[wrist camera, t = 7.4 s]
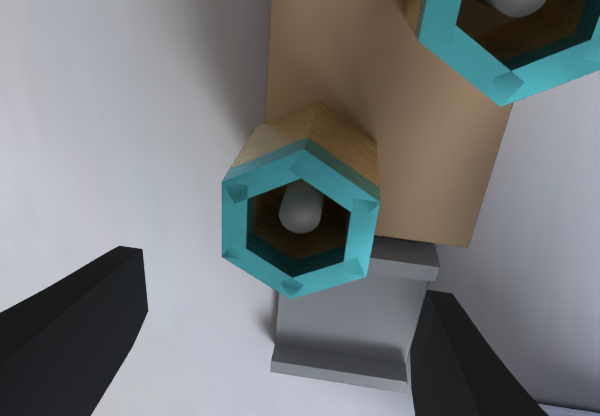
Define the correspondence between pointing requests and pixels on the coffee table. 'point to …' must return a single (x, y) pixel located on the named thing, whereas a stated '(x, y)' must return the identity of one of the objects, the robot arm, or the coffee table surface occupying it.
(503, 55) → the seated sleeve
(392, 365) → the tray
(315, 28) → the pin board
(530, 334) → the coffee table surface
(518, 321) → the coffee table surface
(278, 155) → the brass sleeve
